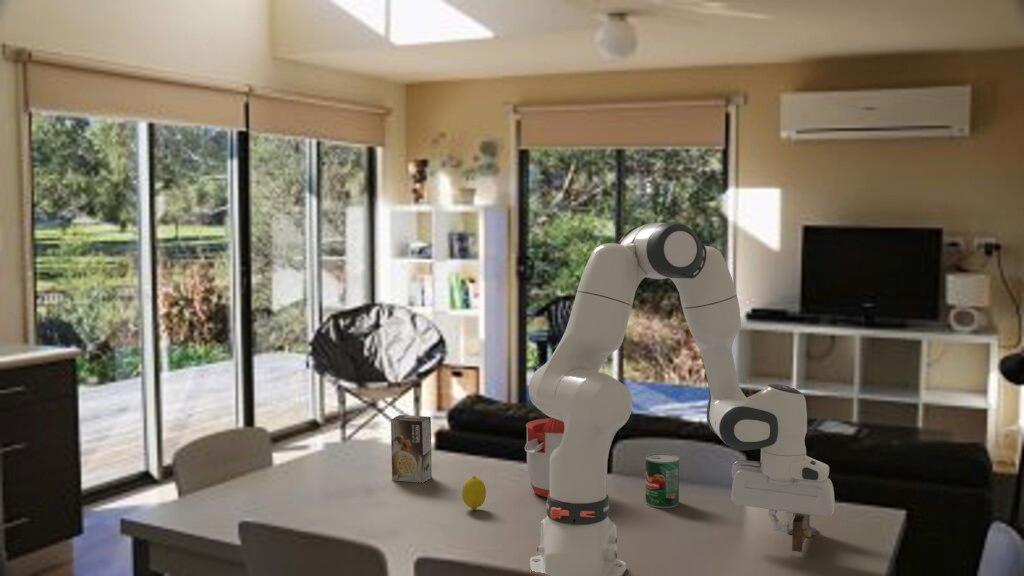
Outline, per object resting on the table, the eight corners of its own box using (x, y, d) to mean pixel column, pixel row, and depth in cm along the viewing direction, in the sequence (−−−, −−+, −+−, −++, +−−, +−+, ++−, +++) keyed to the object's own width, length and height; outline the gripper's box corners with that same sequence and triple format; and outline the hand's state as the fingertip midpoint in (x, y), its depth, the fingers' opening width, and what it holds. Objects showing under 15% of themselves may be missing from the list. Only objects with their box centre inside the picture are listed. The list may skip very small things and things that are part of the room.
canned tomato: (683, 501, 230) (684, 456, 229) (671, 510, 223) (672, 463, 222) (652, 496, 234) (653, 451, 233) (639, 505, 227) (640, 459, 226)
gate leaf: (816, 531, 204) (817, 503, 203) (809, 553, 191) (810, 523, 190) (799, 529, 205) (800, 501, 204) (792, 550, 192) (792, 521, 191)
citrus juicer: (507, 493, 237) (507, 412, 235) (557, 480, 248) (558, 403, 246) (551, 507, 225) (551, 423, 223) (602, 493, 236) (603, 413, 235)
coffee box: (433, 477, 251) (432, 416, 250) (423, 483, 245) (423, 421, 244) (400, 474, 254) (399, 414, 252) (390, 480, 248) (389, 419, 246)
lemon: (482, 514, 220) (482, 480, 219) (459, 512, 221) (459, 478, 221) (488, 507, 226) (488, 473, 225) (465, 505, 227) (465, 472, 226)
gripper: (728, 462, 197) (726, 528, 198) (832, 474, 188) (830, 544, 189) (735, 455, 202) (734, 519, 204) (837, 467, 193) (835, 534, 194)
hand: (781, 531), depth 196 cm, fingers closed
